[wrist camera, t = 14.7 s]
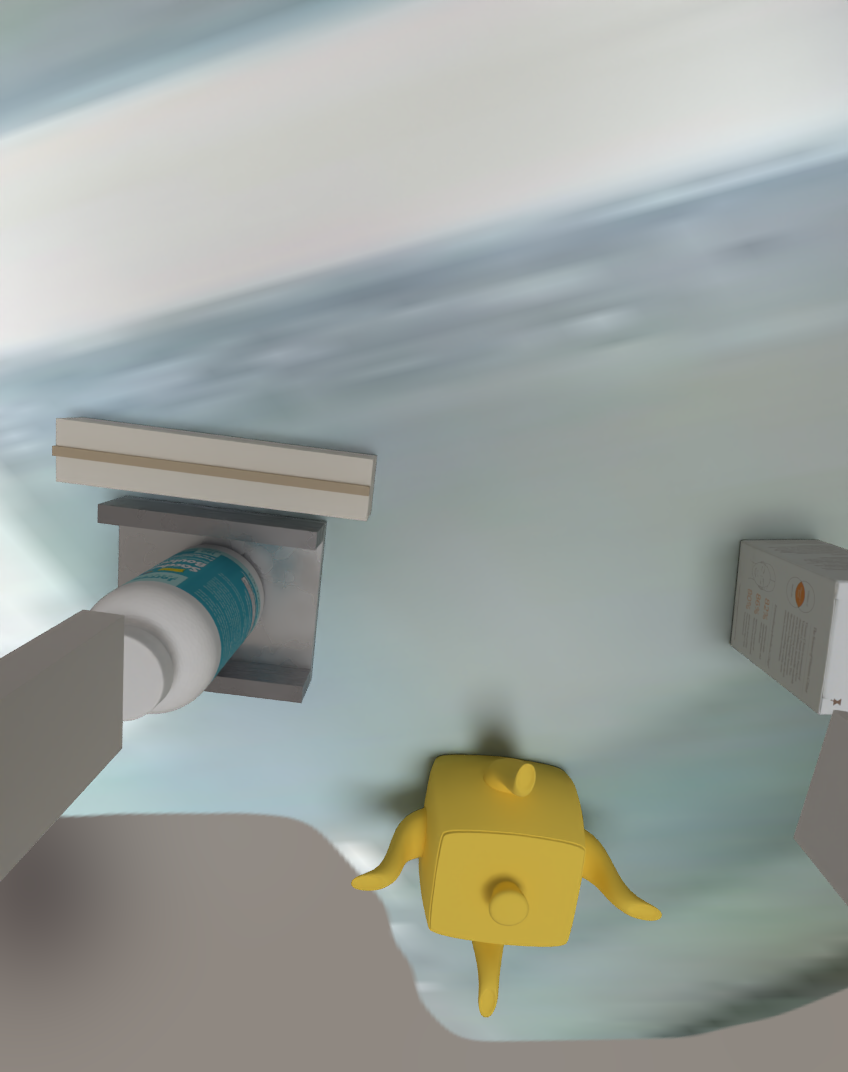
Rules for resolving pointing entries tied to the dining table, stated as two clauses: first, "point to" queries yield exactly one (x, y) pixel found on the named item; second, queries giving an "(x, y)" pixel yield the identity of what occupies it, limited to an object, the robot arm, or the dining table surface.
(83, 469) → the door edge
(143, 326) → the dining table surface
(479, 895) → the teapot
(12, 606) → the dining table surface
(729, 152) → the dining table surface
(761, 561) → the small box
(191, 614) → the pill bottle
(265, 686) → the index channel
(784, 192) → the dining table surface
